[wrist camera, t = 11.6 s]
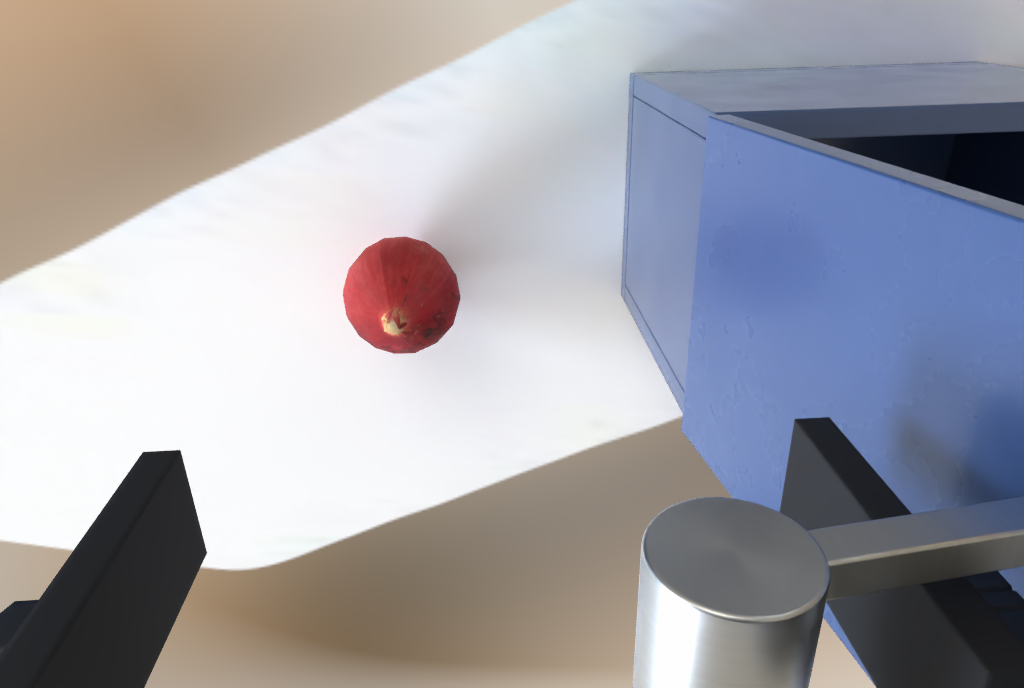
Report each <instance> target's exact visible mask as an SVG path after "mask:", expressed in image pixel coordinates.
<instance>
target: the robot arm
mask: <svg viewBox="0 0 1024 688" xmlns="http://www.w3.org/2000/svg"><path fill="white" fill-rule="evenodd" d="M780 513H782V514H784V515H785V516H787V517H789V518H791V519H792V520H794V521H795V522H797V523H798V524H800V525H801V526H802V527H803V528H804V529H806V530H814V529H820V528H826V527H833V526H839V525H846V524H852V523H858V522H865V521H871V520H878V519H884V518H890V517H897V516H903V515H909V514H912V513H911V512H910V511H909V510H908V509H907V508H906V506H905V505H904V504H903V503H902V502H901V501H900V499H899V498H898V497H897V496H896V495H895V493H894V492H893V491H892V490H891V489H890V488H889V486H888V485H887V484H886V483H885V482H884V481H883V479H882V478H881V477H880V476H879V475H878V474H877V472H876V471H875V470H874V469H873V468H872V467H871V465H870V464H869V463H868V462H867V461H866V460H865V458H864V457H863V456H862V455H861V454H860V453H859V451H858V450H857V449H856V448H855V447H854V445H853V444H852V443H851V442H850V441H849V440H848V438H847V437H846V436H845V435H844V434H843V433H842V431H841V430H840V429H839V428H838V427H837V426H836V424H835V423H834V422H833V421H832V420H831V419H830V417H823V418H803V419H795V420H794V426H793V432H792V438H791V445H790V451H789V457H788V463H787V469H786V476H785V482H784V488H783V494H782V500H781V507H780ZM206 554H207V552H206V548H205V544H204V540H203V536H202V532H201V528H200V525H199V521H198V517H197V513H196V509H195V505H194V501H193V497H192V494H191V490H190V486H189V482H188V478H187V474H186V470H185V467H184V463H183V459H182V455H181V451H180V450H175V451H156V452H143V453H142V455H141V456H140V457H139V459H138V460H137V462H136V463H135V464H134V466H133V467H132V469H131V470H130V472H129V473H128V474H127V476H126V477H125V479H124V480H123V481H122V483H121V484H120V486H119V487H118V489H117V490H116V491H115V493H114V494H113V496H112V497H111V498H110V500H109V501H108V503H107V504H106V506H105V507H104V508H103V510H102V511H101V513H100V514H99V515H98V517H97V518H96V520H95V521H94V523H93V524H92V525H91V527H90V528H89V530H88V531H87V532H86V534H85V535H84V537H83V538H82V540H81V541H80V542H79V544H78V545H77V547H76V548H75V549H74V551H73V552H72V554H71V555H70V557H69V558H68V560H67V561H66V562H65V564H64V565H63V567H62V568H61V569H60V571H59V572H58V574H57V575H56V576H55V578H54V579H53V581H52V582H51V584H50V585H49V586H48V588H47V589H46V591H45V592H44V593H43V595H42V596H41V598H40V599H39V600H30V601H15V602H14V603H12V604H11V605H10V606H9V607H7V608H6V609H5V610H4V611H2V612H1V613H0V688H144V687H145V685H146V682H147V680H148V678H149V676H150V674H151V672H152V670H153V667H154V665H155V663H156V661H157V659H158V657H159V654H160V652H161V650H162V648H163V646H164V644H165V642H166V640H167V637H168V635H169V633H170V631H171V629H172V627H173V624H174V622H175V620H176V618H177V616H178V614H179V612H180V609H181V607H182V605H183V603H184V601H185V599H186V597H187V594H188V592H189V590H190V588H191V586H192V583H193V581H194V579H195V577H196V575H197V572H198V571H199V569H200V566H201V564H202V562H203V560H204V558H205V556H206ZM826 603H827V604H828V606H829V608H830V609H831V611H832V613H833V614H834V616H835V618H836V619H837V621H838V623H839V625H840V626H841V628H842V630H843V631H844V633H845V635H846V636H847V638H848V640H849V642H850V643H851V645H852V647H853V648H854V650H855V652H856V653H857V655H858V657H859V658H860V660H861V662H862V664H863V665H864V667H865V669H866V670H867V672H868V674H869V675H870V677H871V679H872V681H873V682H874V684H875V686H876V687H877V688H1024V599H1023V598H1022V597H1021V596H1020V595H1019V594H1018V592H1017V591H1013V590H1012V586H1011V585H1010V584H1009V583H1008V582H1007V580H1006V579H1005V578H1004V577H1003V576H1002V575H1001V574H1000V573H999V572H998V571H994V572H988V573H982V574H976V575H971V576H965V577H959V578H953V579H948V580H942V581H936V582H930V583H925V584H919V585H913V586H907V587H902V588H896V589H890V590H884V591H879V592H873V593H867V594H861V595H856V596H850V597H844V598H838V599H833V600H827V601H826Z"/></svg>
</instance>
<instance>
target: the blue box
mask: <svg viewBox="0 0 1024 688" xmlns="http://www.w3.org/2000/svg"><path fill="white" fill-rule="evenodd" d="M712 115H732V116H735V117H739V118H742V119H745V120H748V121H752V122H755V123H758V124H761V125H764V126H768V127H771V128H774V129H777V130H781V131H784V132H787V133H790V134H794V135H797V136H800V137H803V138H806V139H810V140H813V141H816V142H819V143H823V144H826V145H829V146H832V147H836V148H839V149H842V150H845V151H849V152H852V153H855V154H858V155H861V156H865V157H868V158H871V159H874V160H878V161H881V162H884V163H887V164H891V165H894V166H897V167H900V168H903V169H907V170H910V171H913V172H916V173H920V174H923V175H926V176H929V177H933V178H936V179H939V180H942V181H945V182H949V183H952V184H955V185H958V186H962V187H965V188H968V189H971V190H975V191H978V192H981V193H984V194H987V195H991V196H994V197H997V198H1000V199H1004V200H1007V201H1010V202H1013V203H1017V204H1020V205H1023V206H1024V68H1022V67H1014V66H1006V65H998V64H991V63H984V62H955V63H924V64H893V65H863V66H832V67H801V68H770V69H740V70H709V71H678V72H648V73H631V74H630V92H629V117H628V142H627V166H626V191H625V216H624V241H623V265H622V290H621V295H622V297H623V299H624V301H625V303H626V305H627V307H628V309H629V311H630V312H631V314H632V316H633V318H634V320H635V322H636V324H637V326H638V328H639V330H640V332H641V334H642V336H643V338H644V339H645V341H646V343H647V345H648V347H649V349H650V351H651V353H652V355H653V357H654V359H655V361H656V363H657V364H658V366H659V368H660V370H661V372H662V374H663V376H664V378H665V380H666V382H667V384H668V386H669V388H670V390H671V391H672V393H673V395H674V397H675V399H676V401H677V403H678V405H679V407H680V409H681V411H682V413H683V406H684V394H685V383H686V371H687V359H688V347H689V335H690V324H691V312H692V300H693V288H694V276H695V265H696V253H697V241H698V229H699V217H700V206H701V194H702V182H703V170H704V158H705V147H706V135H707V123H708V117H709V116H712Z"/></svg>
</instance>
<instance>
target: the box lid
mask: <svg viewBox="0 0 1024 688" xmlns="http://www.w3.org/2000/svg"><path fill="white" fill-rule="evenodd" d="M823 417H830V419H831V420H832V421H833V422H834V423H835V424H836V426H837V427H838V428H839V429H840V430H841V431H842V433H843V434H844V435H845V436H846V437H847V438H848V440H849V441H850V442H851V443H852V444H853V445H854V447H855V448H856V449H857V450H858V451H859V453H860V454H861V455H862V456H863V457H864V458H865V460H866V461H867V462H868V463H869V464H870V465H871V467H872V468H873V469H874V470H875V471H876V472H877V474H878V475H879V476H880V477H881V478H882V479H883V481H884V482H885V483H886V484H887V485H888V486H889V488H890V489H891V490H892V491H893V492H894V493H895V495H896V496H897V497H898V498H899V499H900V501H901V502H902V503H903V504H904V505H905V506H906V508H907V509H908V510H909V511H910V512H911V513H912V514H909V515H903V516H897V517H890V518H884V519H878V520H871V521H865V522H858V523H852V524H846V525H839V526H833V527H826V528H820V529H814V530H806V529H804V528H803V527H802V526H801V525H800V524H798V523H797V522H795V521H794V520H792V519H791V518H789V517H787V516H785V515H784V514H782V513H780V507H781V500H782V494H783V488H784V482H785V476H786V469H787V463H788V457H789V451H790V445H791V438H792V432H793V426H794V420H795V419H803V418H823ZM682 431H683V433H684V434H685V435H686V437H687V438H688V439H689V440H690V442H691V443H692V444H693V446H694V447H695V449H696V450H697V451H698V452H699V454H700V455H701V456H702V458H703V459H704V460H705V462H706V463H707V464H708V466H709V467H710V468H711V470H712V471H713V472H714V474H715V475H716V476H717V478H718V479H719V480H720V482H721V483H722V484H723V485H724V487H725V488H726V489H727V491H728V492H729V493H730V495H731V496H732V497H733V498H725V497H724V498H723V497H704V498H696V499H691V500H686V501H683V502H679V503H677V504H674V505H672V506H670V507H668V508H666V509H664V510H663V511H661V512H660V513H659V514H658V515H657V516H656V517H655V518H654V519H653V520H652V521H651V522H650V524H649V525H648V527H647V528H646V530H645V533H644V535H643V539H642V544H641V560H640V561H641V562H640V577H639V593H638V608H637V624H636V641H635V656H634V673H633V688H808V686H809V682H810V677H811V672H812V667H813V662H814V657H815V652H816V647H817V643H818V638H819V633H820V628H821V623H822V619H823V618H824V619H825V620H826V621H827V623H828V624H829V625H830V627H831V628H832V629H833V631H834V632H835V633H836V635H837V636H838V637H839V639H840V640H841V641H842V643H843V644H844V645H845V646H846V648H847V649H848V651H849V652H850V653H851V654H852V656H853V657H854V658H855V660H856V661H857V662H858V664H859V665H860V666H861V668H862V669H863V670H864V672H865V673H866V674H867V676H868V677H869V678H870V680H871V681H872V679H871V677H870V675H869V674H868V672H867V670H866V669H865V667H864V665H863V664H862V662H861V660H860V658H859V657H858V655H857V653H856V652H855V650H854V648H853V647H852V645H851V643H850V642H849V640H848V638H847V636H846V635H845V633H844V631H843V630H842V628H841V626H840V625H839V623H838V621H837V619H836V618H835V616H834V614H833V613H832V611H831V609H830V608H829V606H828V604H827V603H826V601H827V600H833V599H838V598H844V597H850V596H856V595H861V594H867V593H873V592H879V591H884V590H890V589H896V588H902V587H907V586H913V585H919V584H925V583H930V582H936V581H942V580H948V579H953V578H959V577H965V576H971V575H976V574H982V573H988V572H994V571H998V572H999V573H1000V574H1001V575H1002V576H1003V577H1004V578H1005V579H1006V580H1007V582H1008V583H1009V584H1010V585H1011V586H1012V590H1013V591H1017V592H1018V594H1019V595H1020V596H1021V597H1022V598H1023V599H1024V206H1023V205H1020V204H1017V203H1013V202H1010V201H1007V200H1004V199H1000V198H997V197H994V196H991V195H987V194H984V193H981V192H978V191H975V190H971V189H968V188H965V187H962V186H958V185H955V184H952V183H949V182H945V181H942V180H939V179H936V178H933V177H929V176H926V175H923V174H920V173H916V172H913V171H910V170H907V169H903V168H900V167H897V166H894V165H891V164H887V163H884V162H881V161H878V160H874V159H871V158H868V157H865V156H861V155H858V154H855V153H852V152H849V151H845V150H842V149H839V148H836V147H832V146H829V145H826V144H823V143H819V142H816V141H813V140H810V139H806V138H803V137H800V136H797V135H794V134H790V133H787V132H784V131H781V130H777V129H774V128H771V127H768V126H764V125H761V124H758V123H755V122H752V121H748V120H745V119H742V118H739V117H735V116H732V115H712V116H709V117H708V123H707V135H706V147H705V158H704V170H703V182H702V194H701V206H700V217H699V229H698V241H697V253H696V265H695V276H694V288H693V300H692V312H691V324H690V335H689V347H688V359H687V371H686V383H685V394H684V406H683V418H682ZM872 682H873V681H872ZM873 683H874V682H873ZM874 685H875V684H874ZM876 688H877V687H876Z"/></svg>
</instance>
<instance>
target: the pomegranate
mask: <svg viewBox="0 0 1024 688" xmlns="http://www.w3.org/2000/svg"><path fill="white" fill-rule="evenodd" d="M343 297H344V303H345V309H346V315H347V317H348V319H349V321H350V322H351V324H352V325H353V327H354V328H355V330H356V331H357V333H358V335H359V336H360V337H361V338H363V339H364V340H366V341H367V342H368V343H370V344H371V345H372V346H374V347H375V348H378V349H381V350H384V351H388V352H391V353H416V352H418V351H420V350H422V349H424V348H426V347H429V346H431V345H433V344H435V343H437V342H438V341H439V340H440V339H441V337H442V336H443V335H444V334H445V333H446V332H447V331H448V330H449V329H450V328H451V326H452V325H453V323H454V320H455V316H456V312H457V309H458V305H459V301H460V293H459V288H458V282H457V277H456V275H455V273H454V272H453V270H452V268H451V267H450V265H449V264H448V262H447V261H446V259H445V258H444V256H443V255H442V254H441V253H440V252H438V251H437V250H436V249H434V248H433V247H432V246H430V245H429V244H428V243H426V242H423V241H419V240H416V239H412V238H408V237H396V238H384V239H382V240H380V241H379V242H377V243H375V244H373V245H371V246H369V247H368V248H366V249H365V250H364V251H363V252H362V254H361V255H360V256H359V257H358V259H357V260H356V261H355V262H354V263H353V265H352V266H351V267H350V268H349V271H348V274H347V278H346V282H345V286H344V291H343Z"/></svg>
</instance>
